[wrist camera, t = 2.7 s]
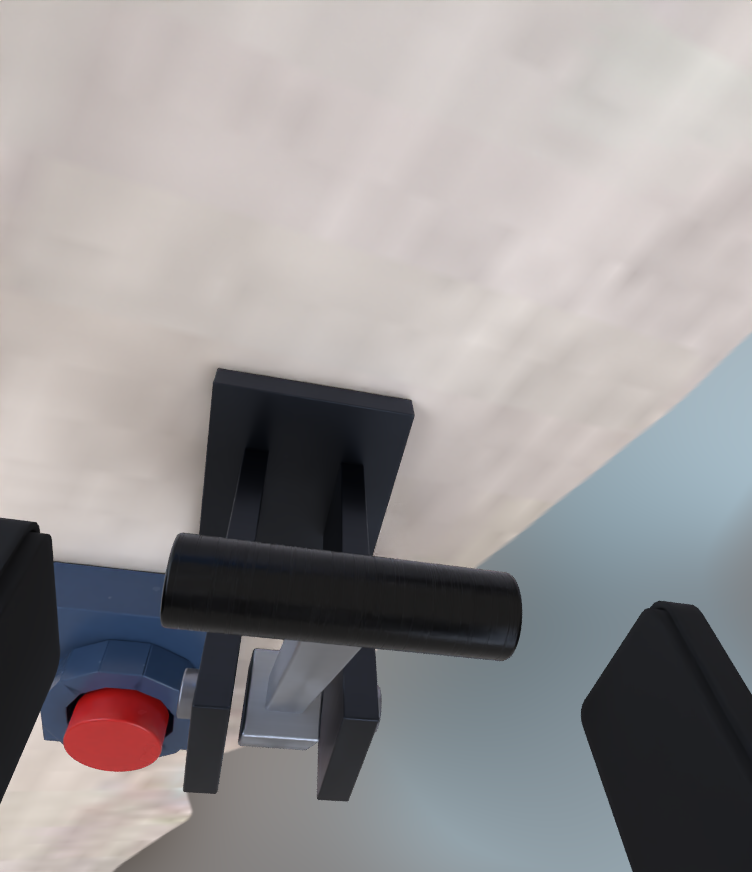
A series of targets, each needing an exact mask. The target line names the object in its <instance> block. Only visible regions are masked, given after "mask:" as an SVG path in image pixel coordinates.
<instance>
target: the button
mask: <svg viewBox="0 0 752 872" xmlns="http://www.w3.org/2000/svg"><path fill="white" fill-rule="evenodd" d="M168 721H169V713H168V710H167V708H166V706H165V705H164V704H163V703H162V702H161V701H160V700H158V699H156V698H154V697H151V696H149V695H146V694H144V693H142V692H139V691H137V690H129V689H117V688H103V689H99V690H95V691H91V692H87V693H86V694H84V695H83V696H82V697H81V698H80V699H79V700H78V701H77V703H76V705H75V708H74V710H73V713H72V716H71V718H70V721H69V724H68V726H67V729H66V732H65V734H64V738H63V745H64V748H65V750H66V752H67V753H68V754H69V755H70V756H71V757H72V758H73V759H75V760H76V761H78V762H79V763H81V764H84V765H86V766H88V767H92V768H95V769H99V770H104V771H114V772H123V771H132V770H137V769H141V768H144V767H146V766H148V765H150V764H152V763H153V762H154V761H155V760H157V758H158V757H159V756H160V754H161V751H162V747H163V742H164V738H165V734H166V730H167V725H168Z"/></svg>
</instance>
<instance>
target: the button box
mask: <svg viewBox="0 0 752 872" xmlns="http://www.w3.org/2000/svg"><path fill="white" fill-rule="evenodd" d="M54 575H55V588H56V602H57V615H58V628H59V641H60V660H59V665H58V669H57V672H56V675H55V678H54V680H53V683H52V685H51V687H50V690H49V692H48V694H47V697H46V699H45V701H44V704H43V706H42V708H41V719H42V727H43V735H44V740H49V741H60V742H61V743H62V744H63V738H64V734H65V732H66V729H67V726H68V724H69V721H70V718H71V716H72V713H73V710H74V708H75V705H76V703H77V701H78V700H79V699H80V698H81V697H82V696H83V695H84V694H86V693H87V692H91V691H95V690H99V689H103V688H117V689H129V690H137V691H139V692H142V693H144V694H146V695H149V696H151V697H154V698H156V699H158V700H160V701H161V702H162V703H163V704H164V705H165V706H166V708H167V710H168V713H169V721H168V725H167V730H166V734H165V738H164V742H163V747H162V751H161V754H160V756H159V757H161V756H166V755H170V754H174V753H176V752H178V751H179V750H180V749H182V750H187V746H188V736H189V726H190V719H181V718H177V706H178V699H179V694H180V688H181V683H182V679H183V675H184V671H185V669H186V668H194V669H199V667H200V662H201V657H202V653H203V648H204V643H205V638H206V633H207V632H200V631H190V630H180V629H170V628H164V627H163V626H161V622H160V607H161V598H162V591H163V585H164V579H165V574H159V573H150V572H141V571H133V570H124V569H115V568H106V567H97V566H88V565H79V564H70V563H61V562H54Z"/></svg>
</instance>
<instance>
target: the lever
mask: <svg viewBox="0 0 752 872" xmlns="http://www.w3.org/2000/svg"><path fill="white" fill-rule="evenodd" d="M160 622H161V626H163V627H164V628H170V629H180V630H190V631H200V632H210V633H221V634H231V635H241V636H251V637H261V638H271V639H282V640H284V642H283V644H282V646H281V649H280V650H270V649H260V648H256V649H254V650H253V653H252V657H251V661H250V665H249V669H248V676H247V683H246V690H245V697H244V704H243V711H242V718H241V725H240V732H239V739H238V744H239V745H240V746H252V747H266V748H280V749H281V748H282V749H295V750H307V749H308V748H310V747H311V746H313V745H314V744H316V743H317V742H319V740H320V731H321V719H322V707H323V694H324V689H325V688H326V686H327V685H328V684H329V683H330V682H331V681H332V680H333V679H334V678H335V677H336V675H337V674H338V673H339V672H340V671H341V670H342V669H343V668H344V667H345V665H346V664H347V663H348V662H349V661H350V660H351V659H352V658H353V657H354V656H355V654H356V653H357V652H358V651H359V650H360V649H361V648H362V647H363V648H373V649H383V650H384V649H385V650H394V651H405V652H415V653H424V654H434V655H445V656H455V657H465V658H475V659H485V660H495V661H504V660H507V659H508V658H510V656H512V654H513V653H514V651H515V649H516V647H517V644H518V641H519V637H520V631H521V625H522V602H521V595H520V590H519V587H518V584H517V582H516V580H515V579H514V577H513V576H512V575H510V574H509V573H506V572H499V571H491V570H483V569H475V568H466V567H458V566H450V565H442V564H434V563H426V562H418V561H409V560H401V559H393V558H385V557H377V556H369V555H361V554H352V553H344V552H336V551H328V550H320V549H312V548H304V547H295V546H287V545H279V544H271V543H263V542H255V541H247V540H239V539H230V538H222V537H214V536H206V535H198V534H190V533H179V534H178V535H177V537H176V538H175V541H174V543H173V546H172V549H171V553H170V556H169V560H168V565H167V569H166V574H165V579H164V585H163V591H162V598H161V607H160Z"/></svg>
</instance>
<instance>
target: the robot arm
mask: <svg viewBox="0 0 752 872" xmlns="http://www.w3.org/2000/svg"><path fill="white" fill-rule="evenodd" d="M59 660H60V641H59V628H58V615H57V602H56V588H55V575H54V562H53V549H52V539H51V536H50V534H43V533H40V529H39V525H38V524H37V522H30V521H22V520H14V519H6V518H0V803H1V801H2V798H3V796H4V794H5V792H6V789H7V787H8V785H9V782H10V780H11V778H12V775H13V773H14V771H15V768H16V766H17V764H18V761H19V759H20V757H21V755H22V752H23V750H24V748H25V745H26V743H27V741H28V738H29V736H30V734H31V731H32V729H33V727H34V724H35V722H36V720H37V717H38V715H39V713H40V711H41V708H42V706H43V704H44V701H45V699H46V697H47V694H48V692H49V690H50V687H51V685H52V683H53V680H54V678H55V675H56V672H57V669H58V665H59ZM581 721H582V725H583V728H584V731H585V734H586V737H587V740H588V743H589V746H590V749H591V751H592V755H593V757H594V760H595V763H596V766H597V768H598V772H599V775H600V778H601V781H602V784H603V786H604V790H605V792H606V795H607V798H608V801H609V804H610V807H611V809H612V813H613V816H614V818H615V822H616V825H617V827H618V830H619V833H620V836H621V839H622V842H623V845H624V848H625V851H626V853H627V857H628V860H629V862H630V865H631V868H632V871H633V872H752V694H751V693H750V691H749V690H748V688H747V686H746V685H745V683H744V681H743V680H742V678H741V676H740V675H739V673H738V671H737V670H736V668H735V666H734V665H733V663H732V662H731V660H730V658H729V657H728V655H727V653H726V652H725V650H724V648H723V647H722V645H721V643H720V642H719V640H718V639H717V637H716V635H715V633H714V632H713V630H712V629H711V627H710V625H709V624H708V622H707V620H706V619H705V617H704V615H703V614H702V613H701V611H700V610H699V609H698V608H697V607H695V606H694V605H689V604H681V603H673V602H666V601H658V602H655V603H654V604H653V605H652V606H651V607H650V608H648V609H645V610H644V611H643V612H642V613H641V615H640V616H639V618H638V619H637V621H636V622H635V624H634V625H633V627H632V628H631V630H630V632H629V633H628V635H627V636H626V638H625V639H624V641H623V642H622V644H621V646H620V647H619V649H618V650H617V651H616V653H615V655H614V656H613V658H612V659H611V661H610V662H609V664H608V665H607V667H606V668H605V670H604V671H603V673H602V674H601V676H600V678H599V679H598V681H597V682H596V684H595V685H594V687H593V688H592V690H591V691H590V693H589V694H588V696H587V697H586V699H585V700H584V703H583V704H582V709H581Z"/></svg>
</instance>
